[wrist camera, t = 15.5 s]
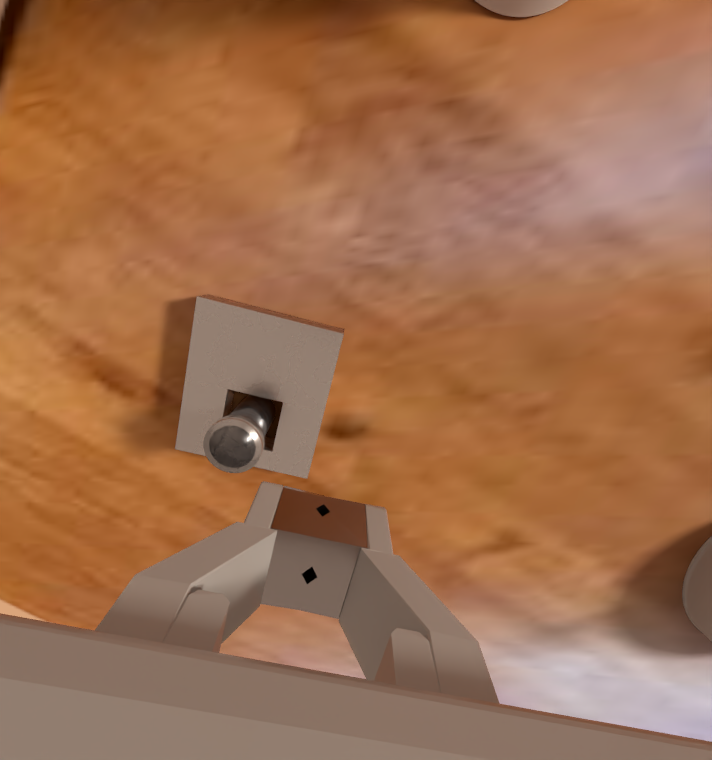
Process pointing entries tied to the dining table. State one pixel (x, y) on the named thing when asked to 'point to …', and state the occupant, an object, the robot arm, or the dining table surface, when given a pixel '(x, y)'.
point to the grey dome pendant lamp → (699, 590)
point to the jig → (258, 376)
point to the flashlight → (240, 435)
